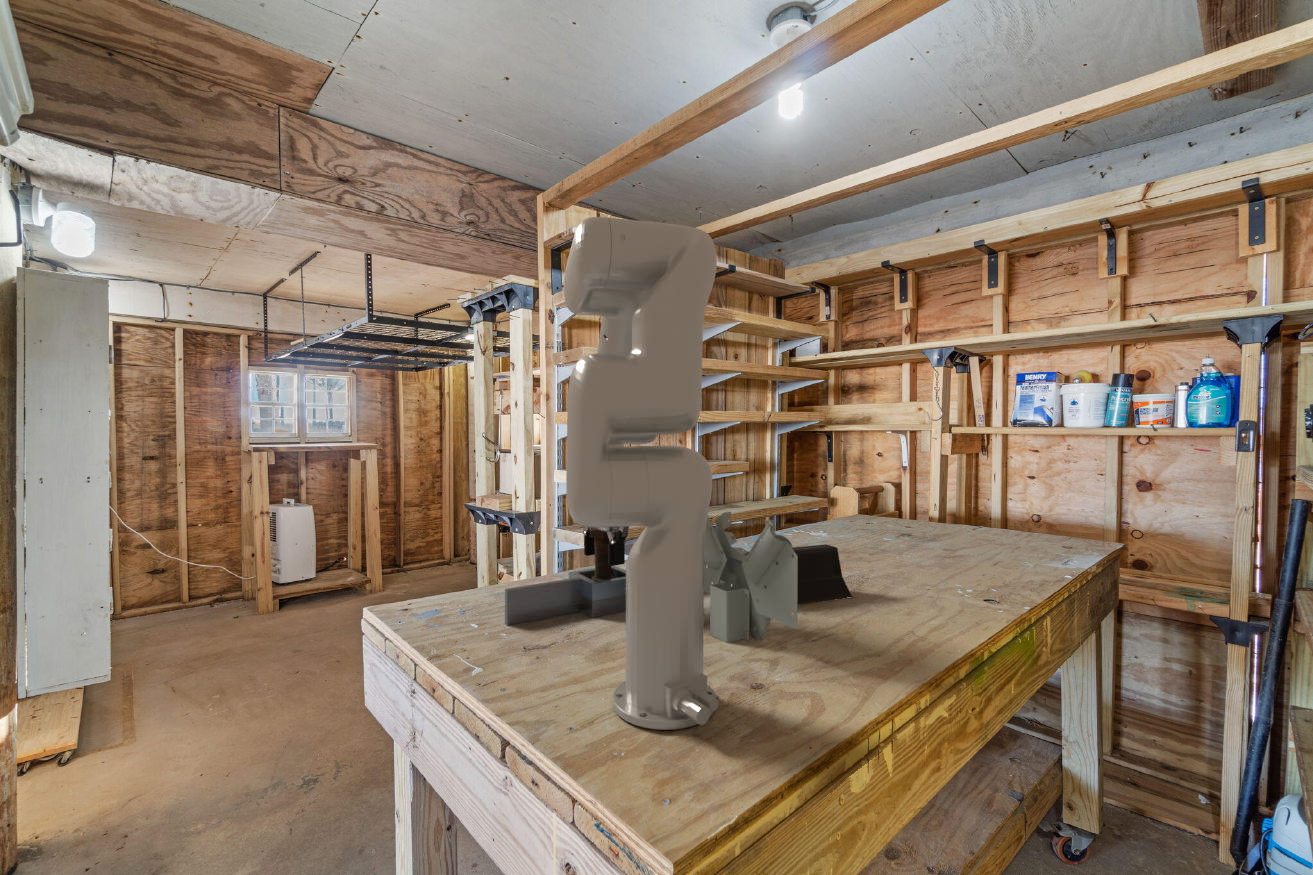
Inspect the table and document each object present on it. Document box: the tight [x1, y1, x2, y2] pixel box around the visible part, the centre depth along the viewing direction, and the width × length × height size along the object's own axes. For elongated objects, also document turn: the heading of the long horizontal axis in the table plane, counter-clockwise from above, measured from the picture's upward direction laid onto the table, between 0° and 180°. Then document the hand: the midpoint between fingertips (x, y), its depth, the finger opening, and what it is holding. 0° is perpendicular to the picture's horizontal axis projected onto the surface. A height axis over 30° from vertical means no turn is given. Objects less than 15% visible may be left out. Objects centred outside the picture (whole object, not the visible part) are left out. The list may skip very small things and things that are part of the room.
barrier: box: [744, 543, 853, 606], centre depth 112 cm, size 24×9×10 cm, turn 112°
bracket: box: [704, 511, 798, 644], centre depth 92 cm, size 28×7×20 cm, turn 33°
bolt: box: [590, 527, 617, 582], centre depth 107 cm, size 6×5×15 cm
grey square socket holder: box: [504, 565, 626, 626], centre depth 107 cm, size 10×38×6 cm, turn 124°
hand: (603, 559), depth 107 cm, fingers open, 9 cm apart
